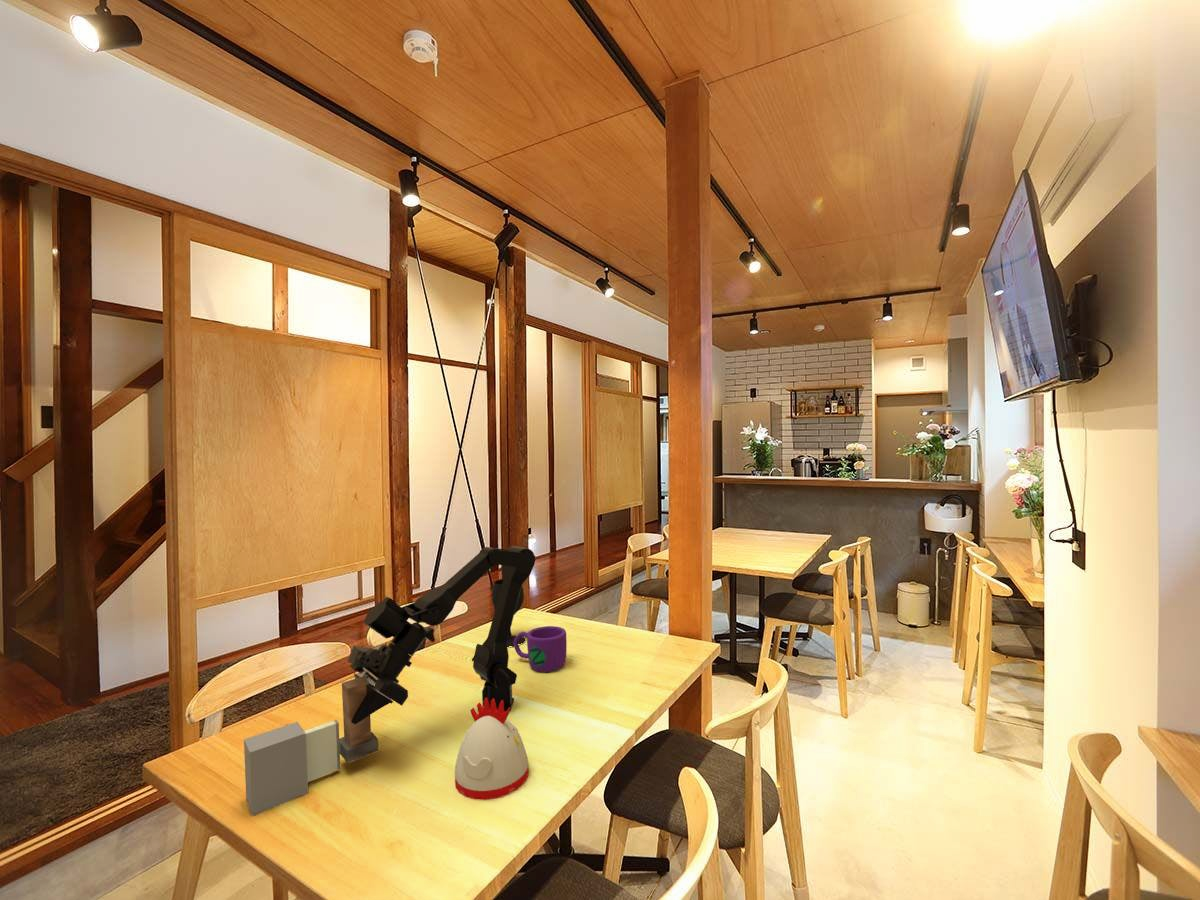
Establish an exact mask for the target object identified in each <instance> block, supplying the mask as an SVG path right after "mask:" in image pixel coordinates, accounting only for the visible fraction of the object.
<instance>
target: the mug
mask: <svg viewBox="0 0 1200 900" xmlns="http://www.w3.org/2000/svg"><path fill="white" fill-rule="evenodd" d="M521 637H524V638H525V639H526V647H527V653H526V652H523V651H522V650H521V648H520V645H518V641H519V640H520V638H521ZM567 643H568V642H567V631H566V629H565V628H563V627H560V626H554V625H548V626H540V627H536V628H533V629H530V630H529V631H528V632H526V631H520V632H518V634H517V636H516V638H515V639H514V647H513V648H514V651H515V652H516V653H517V656H519V657H520V658H523V659H528V663H529V666H530V668H531V669H532V670H534V671H535V672H538V671H539V672H538V673H552V671H553V672H556V671H558V670H560V669H562V668H563V667H564V666H565V663H566V661H567V660H566V659H567Z"/></svg>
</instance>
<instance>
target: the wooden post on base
mask: <svg viewBox="0 0 1200 900" xmlns="http://www.w3.org/2000/svg"><path fill="white" fill-rule="evenodd" d="M367 684H368V685H369V682H368V681H367V680H365V679H364V678H363V677H359V678H356V679H355V678H353V679H350V680H346V681H344V682H343V681H342V682H341V695H342V699H341V700H342V718H343V736H342V737H339V744H340V757H342V758H343V760H344V761H345V762H346V764H349V763H351V762H354V761H357V760H359V759H362V758H364V757H366V756H369V755H372V754H374V753H376V752H378V751H380V750H379V738H378V737H377V736H376V734H374V733H373V731H372V725H371V721H372V720H371V715H369V716H368V717H366V718H365V719H363V720H361V721H360V722H358V723H357V724H353V723H352V722H351V720H352V719H353V717H354V715H355V713H356V711H357V710H358V708H359V707H360V705H361V703H362V702H363V700H364V698H365V697H366V694H367V687H366V686H367Z"/></svg>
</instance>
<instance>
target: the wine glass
mask: <svg viewBox="0 0 1200 900" xmlns="http://www.w3.org/2000/svg"><path fill="white" fill-rule="evenodd" d="M502 583H503V578H501V579H498V580H495V581H494V582H493V586H492V589H491V602H492V605H493V608H494V609H496V605H497V601H498V597H499V594H500V590H501V586H502ZM524 598H525V594H524V586H523V585H522V587H521V590H520V594H519V598H518V602H517V606H516V609H515V613H514V615H516V614H517V613H518V612H519V611H520V609H521V607H522V606H523V603H524ZM511 628H512V627H511ZM511 628H510V632H509V636H508V640H507V647H509V646H514V639H515V638H516V636H517V635H518V634H517V635H516V634H514V635H512V629H511ZM524 641H525V642H526V637H523V636H522V637H521V638H520V640H519V641H518V644H521V643H523V642H524ZM525 642H524V643H525ZM524 643H523V644H524ZM521 645H522V644H521ZM509 648H510V647H509Z"/></svg>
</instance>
